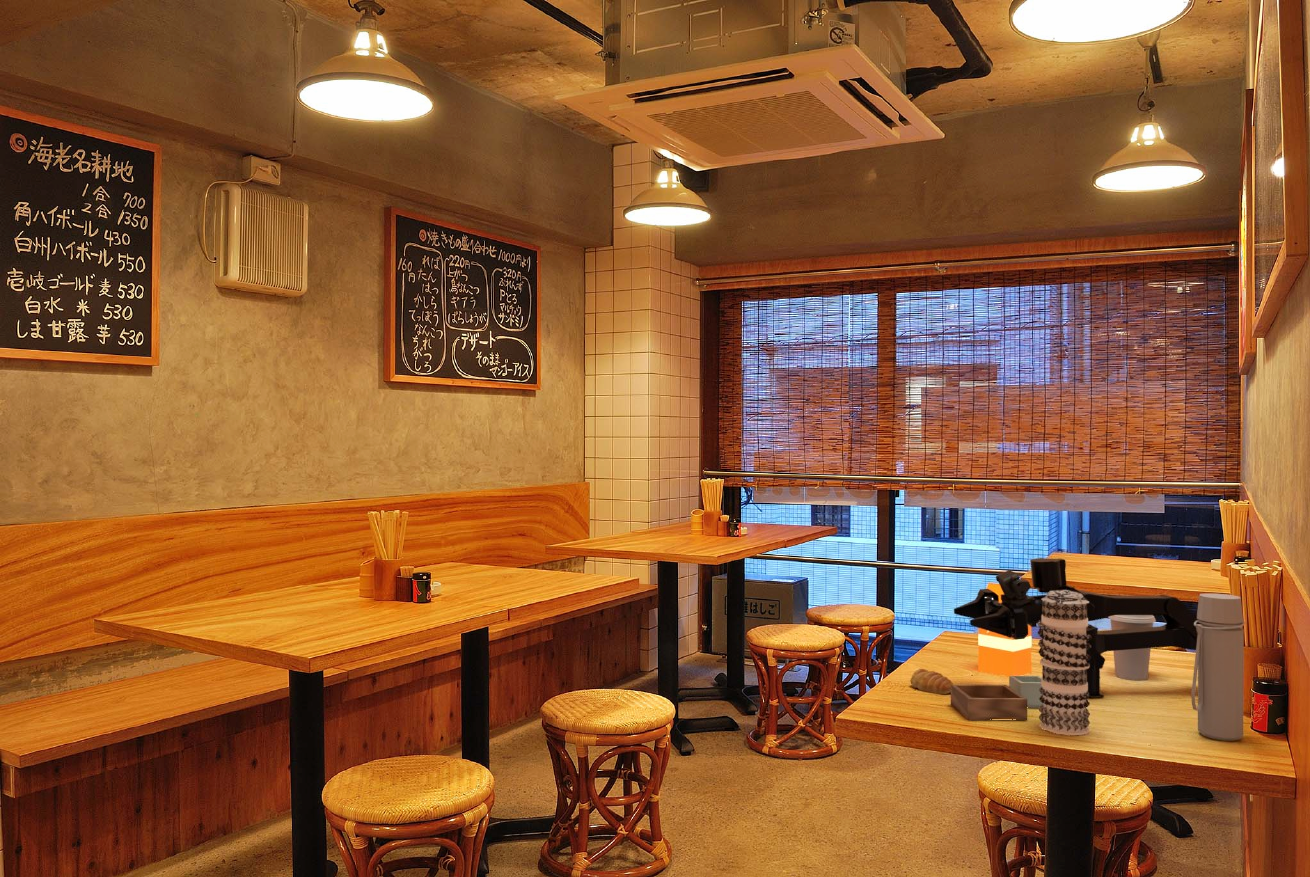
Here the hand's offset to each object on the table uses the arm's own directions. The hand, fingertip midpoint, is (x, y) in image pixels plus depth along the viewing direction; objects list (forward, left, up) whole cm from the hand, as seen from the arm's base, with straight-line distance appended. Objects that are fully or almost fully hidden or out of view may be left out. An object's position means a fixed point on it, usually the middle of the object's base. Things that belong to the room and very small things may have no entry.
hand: (962, 616), depth 201 cm
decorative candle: (-11, +24, -16) cm, 31 cm away
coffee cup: (-43, -16, -16) cm, 49 cm away
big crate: (-1, +13, -16) cm, 21 cm away
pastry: (+5, -5, -17) cm, 18 cm away
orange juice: (-16, -20, -16) cm, 30 cm away
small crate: (-11, +7, -16) cm, 21 cm away
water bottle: (-36, +28, -16) cm, 49 cm away
